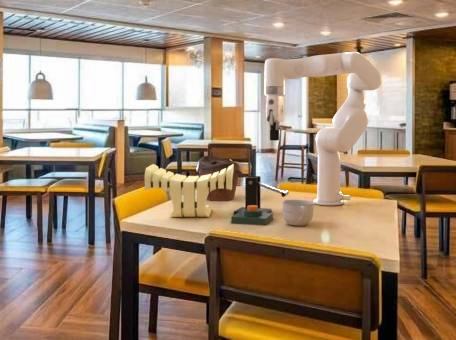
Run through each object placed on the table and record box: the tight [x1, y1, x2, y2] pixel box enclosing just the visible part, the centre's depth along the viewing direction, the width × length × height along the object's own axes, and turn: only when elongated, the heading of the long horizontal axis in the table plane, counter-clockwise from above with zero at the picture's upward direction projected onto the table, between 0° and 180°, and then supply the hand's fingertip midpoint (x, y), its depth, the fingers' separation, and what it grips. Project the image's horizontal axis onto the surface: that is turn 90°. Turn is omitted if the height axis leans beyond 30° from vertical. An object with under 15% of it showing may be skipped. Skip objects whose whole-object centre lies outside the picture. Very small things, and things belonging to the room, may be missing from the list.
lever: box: [257, 179, 290, 198], centre depth 199 cm, size 15×5×2 cm, turn 80°
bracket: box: [233, 175, 273, 216], centre depth 201 cm, size 12×9×14 cm
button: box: [247, 205, 258, 211], centre depth 188 cm, size 4×4×2 cm
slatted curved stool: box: [144, 163, 234, 218], centre depth 197 cm, size 30×16×18 cm, turn 96°
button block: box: [230, 208, 274, 226], centre depth 188 cm, size 12×10×4 cm
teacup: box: [282, 199, 315, 227], centre depth 182 cm, size 14×11×8 cm
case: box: [196, 155, 244, 202], centre depth 230 cm, size 18×20×18 cm
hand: (274, 140), depth 205 cm, fingers closed
